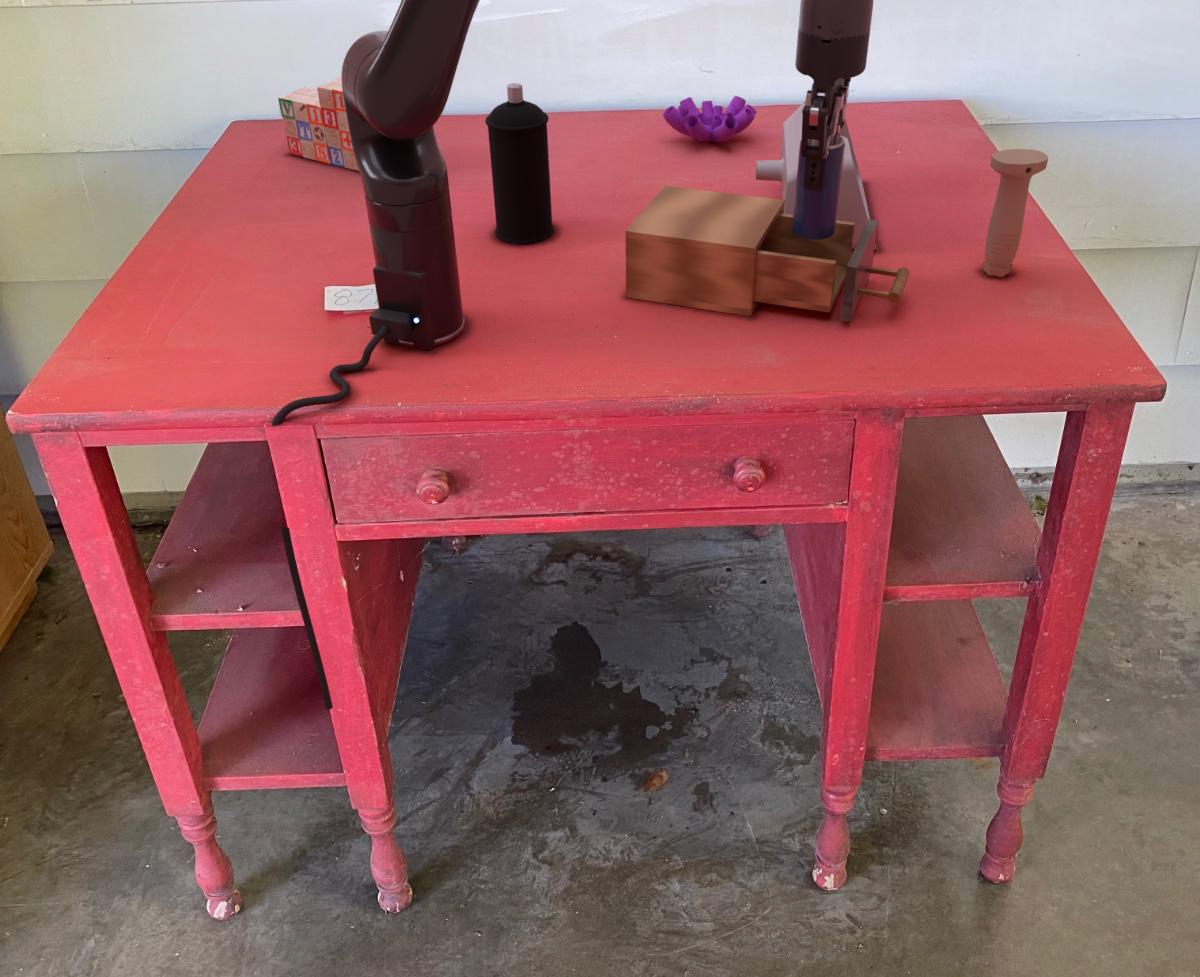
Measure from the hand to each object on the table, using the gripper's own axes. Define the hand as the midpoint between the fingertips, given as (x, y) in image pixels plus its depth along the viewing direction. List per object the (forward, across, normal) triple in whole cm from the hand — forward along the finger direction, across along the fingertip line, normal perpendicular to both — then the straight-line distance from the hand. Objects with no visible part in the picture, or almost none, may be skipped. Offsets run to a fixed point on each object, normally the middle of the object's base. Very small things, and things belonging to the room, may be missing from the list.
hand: (818, 179), depth 128 cm
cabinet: (+15, 0, -13) cm, 20 cm away
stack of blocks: (+15, -24, -79) cm, 84 cm away
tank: (+15, -25, -5) cm, 29 cm away
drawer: (+14, 0, +2) cm, 14 cm away
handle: (+15, -14, +21) cm, 29 cm away
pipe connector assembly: (+15, -49, -27) cm, 58 cm away
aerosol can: (+15, -7, -41) cm, 44 cm away
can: (+6, 0, 0) cm, 6 cm away
